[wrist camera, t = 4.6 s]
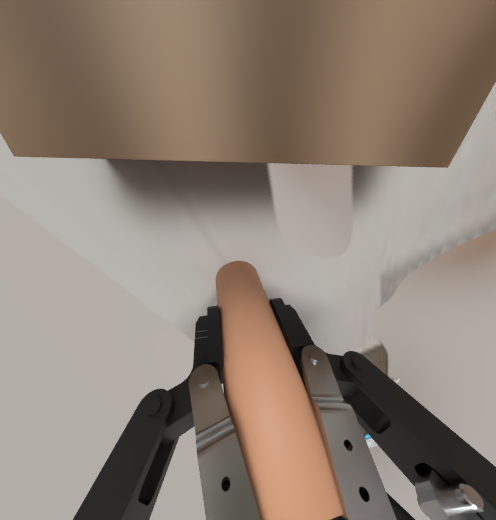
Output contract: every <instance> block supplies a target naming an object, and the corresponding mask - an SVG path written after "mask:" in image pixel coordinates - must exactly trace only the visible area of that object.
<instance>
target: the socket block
mask: <svg viewBox="0 0 496 520" xmlns="http://www.w3.org/2000/svg"><path fill="white" fill-rule="evenodd" d="M495 82H496V0H0V133H1V134H2V136H3V138H4V140H5V141H6V143H7V145H8V147H9V148H10V150H11V152H12V154H13V155H14V156H17V157H56V158H95V159H134V160H174V161H213V162H252V163H292V164H331V165H369V166H408V167H448V166H449V165H450V163H451V161H452V159H453V157H454V156H455V154H456V152H457V150H458V148H459V147H460V145H461V143H462V141H463V139H464V138H465V136H466V134H467V132H468V130H469V129H470V127H471V125H472V123H473V121H474V120H475V118H476V116H477V114H478V112H479V111H480V109H481V107H482V105H483V103H484V102H485V100H486V98H487V96H488V94H489V93H490V91H491V89H492V87H493V85H494V84H495Z"/></svg>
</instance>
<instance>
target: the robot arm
mask: <svg viewBox="0 0 496 520" xmlns="http://www.w3.org/2000/svg"><path fill="white" fill-rule="evenodd" d="M269 303H270V305H271V308H272V310H273V312H274V315H275V317H276V320H277V322H278V324H279V327H280V329H281V332H282V334H283V336H284V339H285V341H286V343H287V346H288V348H289V351H290V353H291V355H292V358H293V360H294V363H295V365H296V367H297V370H298V372H299V375H300V377H301V379H302V382H303V384H304V386H305V389H306V391H307V394H308V397H309V399H310V402H311V405H312V408H313V411H314V414H315V417H316V420H317V423H318V427H319V430H320V433H321V437H322V440H323V443H324V446H325V450H326V453H327V457H328V460H329V463H330V467H331V470H332V474H333V477H334V481H335V484H336V488H337V491H338V495H339V498H340V502H341V505H342V509H343V512H344V514H342V515H340V516H338V517H335V518H333V519H330V520H415V519H414V518H413V517H412V516H411V515H410V514H409V513H408V512H407V511H406V510H404V509H403V508H402V507H401V506H400V505H399V504H398V503H397V502H396V501H395V500H394V499H393V498H392V497H391V496H390V495H389V494H388V493H387V492H386V491H385V488H384V486H383V483H382V481H381V478H380V476H379V473H378V471H377V468H376V466H375V463H374V461H373V458H372V455H371V453H370V451H369V448H368V445H367V443H366V440H365V438H364V435H363V433H362V430H361V427H360V425H361V426H362V427H363V428H364V429H365V431H366V432H367V433H368V434H369V435H370V436H371V437H372V439H373V440H374V441H375V442H376V443H377V444H378V445H379V446H380V448H381V449H382V450H383V451H384V452H385V453H386V454H387V455H388V457H389V458H390V459H391V460H392V461H393V462H394V463H395V465H396V466H397V467H398V468H399V469H400V470H401V471H402V472H403V474H404V475H405V476H406V477H407V478H408V479H409V480H410V482H411V483H412V484H413V485H414V486H415V489H416V493H417V501H418V504H419V506H420V508H421V509H422V511H423V512H424V513H425V514H426V515H427V516H428V517H429V518H430V519H431V520H496V467H495V466H494V465H493V464H491V463H490V462H489V461H488V460H487V459H485V458H484V457H483V456H482V455H481V454H479V453H478V452H477V451H476V450H475V449H474V448H472V447H471V446H470V445H469V444H468V443H466V442H465V441H464V440H463V439H462V438H460V437H459V436H458V435H457V434H456V433H454V432H453V431H452V430H451V429H450V428H449V427H447V426H446V425H445V424H444V423H442V422H441V421H440V420H439V419H438V418H437V417H435V416H434V415H433V414H432V413H431V412H429V411H428V410H427V409H426V408H424V407H423V406H422V405H421V404H420V403H418V401H416V400H415V399H414V398H413V397H412V396H410V395H409V394H408V393H407V392H406V391H404V390H403V389H402V388H401V387H400V386H399V385H397V384H396V383H395V382H394V381H393V380H391V379H390V378H389V377H388V376H387V375H385V374H384V373H383V372H382V371H381V370H379V369H378V368H377V367H376V366H375V365H373V364H372V363H371V362H370V361H369V360H368V359H366V358H365V357H364V356H363V355H361V354H359V353H357V352H354V351H348V352H346V353H345V354H344V356H339V355H333V354H328V353H325V352H324V351H323V350H322V349H320V348H319V347H317V346H316V345H315V344H314V343H313V341H312V339H311V337H310V336H309V334H308V332H307V330H306V328H305V327H304V325H303V323H302V321H301V320H300V318H299V316H298V314H297V312H296V311H295V309H294V308H292V307H291V306H290V305H285V304H284V302H283V300H282V299H281V298H276V299H270V301H269ZM222 370H223V355H222V342H221V330H220V317H219V306H212V307H208V308H207V316H200V317H199V319H198V321H197V323H196V330H195V347H194V364H193V369H192V371H191V373H190V375H189V376H188V378H187V379H186V380H185V381H184V382H182V383H181V384H179V385H177V386H175V387H174V388H172V389H170V390H168V391H167V390H165V389H156V390H154V391H152V392H150V393H149V394H147V395H146V396H145V397H144V398H143V399H142V401H141V402H140V404H139V405H138V407H137V409H136V410H135V412H134V414H133V416H132V417H131V419H130V421H129V423H128V424H127V426H126V428H125V430H124V431H123V433H122V435H121V437H120V439H119V440H118V442H117V444H116V445H115V447H114V449H113V451H112V452H111V454H110V456H109V458H108V459H107V461H106V463H105V465H104V466H103V468H102V470H101V472H100V473H99V475H98V477H97V479H96V480H95V482H94V484H93V485H92V487H91V489H90V491H89V492H88V494H87V496H86V498H85V500H84V501H83V503H82V505H81V507H80V508H79V510H78V512H77V513H76V515H75V517H74V519H73V520H149V519H150V516H151V513H152V510H153V508H154V505H155V502H156V499H157V496H158V494H159V491H160V488H161V485H162V483H163V480H164V477H165V475H166V472H167V469H168V466H169V464H170V461H171V458H172V455H173V453H174V450H175V447H176V444H177V442H178V439H179V436H181V435H182V434H184V433H185V432H187V431H188V430H189V429H191V428H192V427H194V426H195V432H196V447H197V455H198V463H199V470H200V478H201V485H202V492H203V500H204V506H205V514H206V520H261V519H260V515H259V512H258V508H257V505H256V501H255V498H254V494H253V491H252V487H251V484H250V480H249V477H248V473H247V470H246V466H245V463H244V459H243V456H242V452H241V449H240V445H239V442H238V438H237V435H236V431H235V428H234V425H233V422H232V421H231V418H230V415H229V411H228V407H227V404H226V400H225V397H224V393H223V390H222V386H221V384H222V383H223V374H222ZM359 424H360V425H359ZM345 447H346V448H345ZM230 483H231V484H230Z"/></svg>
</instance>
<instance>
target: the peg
mask: <svg viewBox="0 0 496 520" xmlns="http://www.w3.org/2000/svg"><path fill="white" fill-rule="evenodd" d="M216 291H217V304H218V306H219V317H220V330H221V342H222V355H223V370H222V374H223V387H224V397H225V400H226V404H227V407H228V411H229V415H230V418H231V421H232V422H233V425H234V428H235V431H236V435H237V438H238V442H239V445H240V449H241V452H242V456H243V459H244V463H245V466H246V470H247V473H248V477H249V480H250V484H251V487H252V491H253V494H254V498H255V501H256V505H257V508H258V512H259V515H260V519H261V520H330V519H333V518H335V517H338V516H340V515H342V514H344V512H343V509H342V505H341V502H340V498H339V495H338V491H337V488H336V484H335V481H334V477H333V474H332V470H331V467H330V463H329V460H328V457H327V453H326V450H325V446H324V443H323V440H322V437H321V433H320V430H319V427H318V423H317V420H316V417H315V414H314V411H313V408H312V405H311V402H310V399H309V397H308V394H307V391H306V389H305V386H304V384H303V382H302V379H301V377H300V375H299V372H298V370H297V367H296V365H295V363H294V360H293V358H292V355H291V353H290V351H289V348H288V346H287V343H286V341H285V339H284V336H283V334H282V332H281V329H280V327H279V324H278V322H277V320H276V317H275V315H274V312H273V310H272V308H271V305H270V303H269V300H268V298H267V296H266V293H265V291H264V289H263V286H262V284H261V281H260V279H259V277H258V274H257V272H256V270H255V268H254V267H253V266H252V265H251V264H249V263H247V262H243V261H235V262H231V263H228V264H226V265H225V266H223V267H222V268H221V269H220V270H219V271H218V273H217V276H216ZM230 484H231V483H230Z"/></svg>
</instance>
